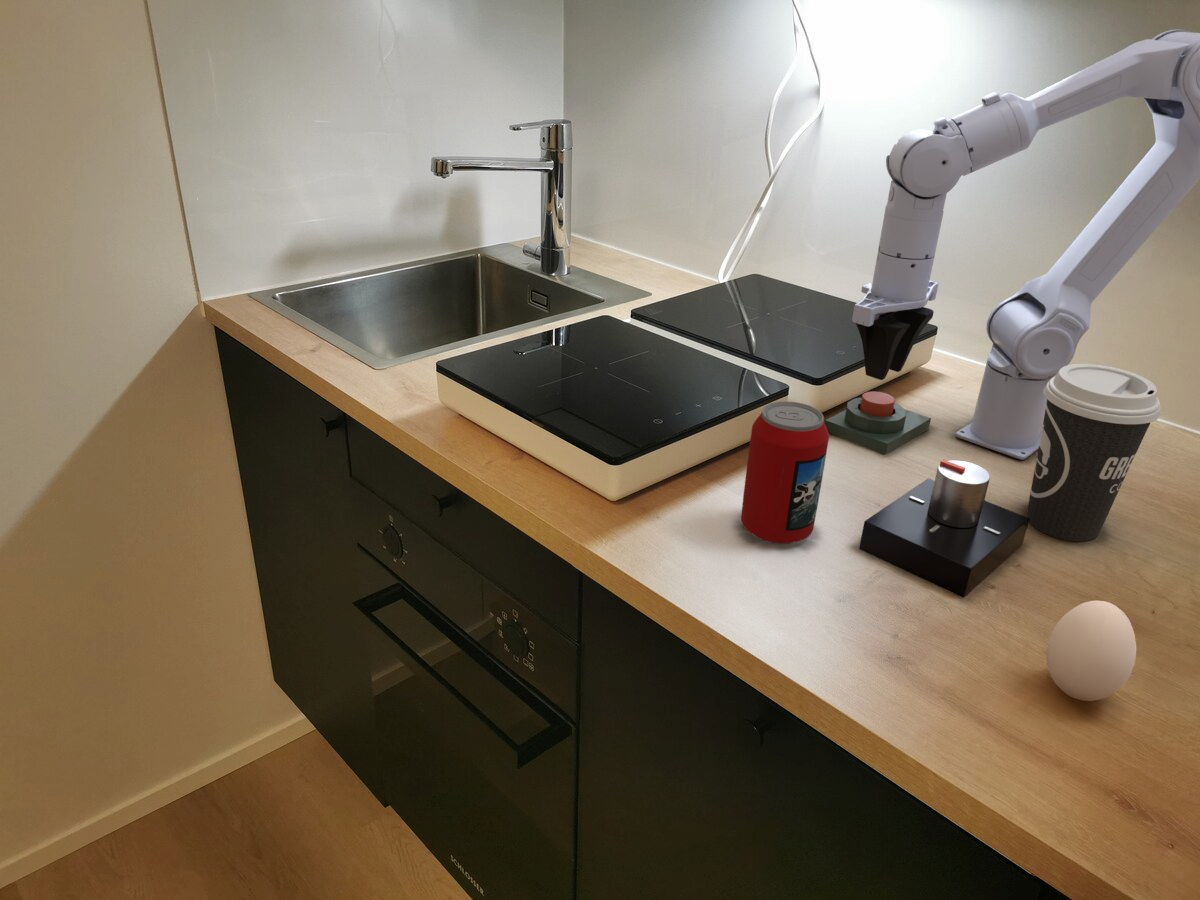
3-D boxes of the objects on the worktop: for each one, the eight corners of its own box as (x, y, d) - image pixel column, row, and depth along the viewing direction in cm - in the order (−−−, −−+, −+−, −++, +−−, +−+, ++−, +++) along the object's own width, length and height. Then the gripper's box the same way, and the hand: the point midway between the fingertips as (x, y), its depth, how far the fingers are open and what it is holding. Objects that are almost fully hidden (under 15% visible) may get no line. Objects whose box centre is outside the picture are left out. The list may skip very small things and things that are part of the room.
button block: (868, 407, 111) (872, 384, 110) (928, 429, 106) (934, 405, 105) (823, 430, 104) (826, 407, 103) (885, 455, 100) (890, 430, 98)
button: (870, 402, 106) (872, 388, 105) (898, 412, 103) (901, 398, 103) (853, 410, 103) (856, 396, 103) (882, 421, 101) (884, 406, 100)
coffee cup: (1066, 559, 82) (1115, 408, 75) (988, 508, 90) (1025, 367, 83) (1140, 539, 86) (1193, 393, 79) (1058, 491, 93) (1100, 355, 87)
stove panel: (922, 504, 90) (928, 476, 89) (1022, 545, 84) (1030, 516, 82) (858, 549, 82) (864, 519, 81) (963, 598, 76) (971, 567, 75)
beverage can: (812, 554, 81) (833, 434, 76) (737, 544, 82) (751, 425, 77) (812, 516, 87) (831, 402, 82) (741, 507, 88) (755, 394, 83)
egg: (1129, 696, 66) (1164, 608, 63) (1099, 731, 63) (1134, 641, 59) (1054, 658, 70) (1083, 572, 66) (1022, 690, 66) (1050, 602, 63)
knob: (987, 516, 82) (999, 469, 80) (965, 533, 80) (977, 486, 77) (941, 497, 85) (952, 452, 83) (919, 514, 82) (929, 467, 80)
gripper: (905, 234, 102) (884, 348, 108) (835, 255, 93) (816, 378, 99) (965, 247, 98) (939, 365, 104) (898, 270, 88) (874, 398, 95)
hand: (883, 372), depth 101 cm, fingers open, 3 cm apart
